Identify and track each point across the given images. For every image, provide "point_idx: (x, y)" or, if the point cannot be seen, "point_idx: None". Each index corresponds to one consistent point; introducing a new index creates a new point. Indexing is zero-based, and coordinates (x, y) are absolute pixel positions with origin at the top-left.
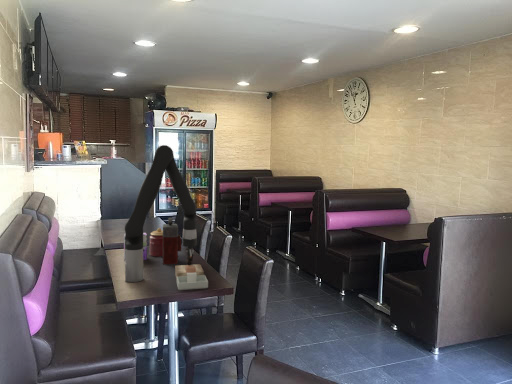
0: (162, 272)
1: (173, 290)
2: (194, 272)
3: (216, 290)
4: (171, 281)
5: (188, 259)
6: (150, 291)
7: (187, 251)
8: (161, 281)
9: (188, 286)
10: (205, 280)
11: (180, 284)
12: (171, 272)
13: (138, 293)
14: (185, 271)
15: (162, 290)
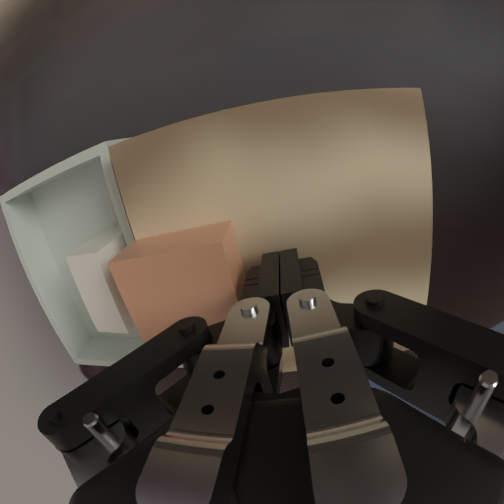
0: (420, 3)
1: (23, 157)
2: (120, 320)
3: (82, 365)
4: (172, 85)
5: (134, 355)
6: (17, 39)
7: (158, 483)
8: (174, 11)
9: (35, 250)
10: (117, 352)
11: (7, 208)
12: (428, 69)
13: (9, 6)
14: (174, 228)
15: (21, 93)
